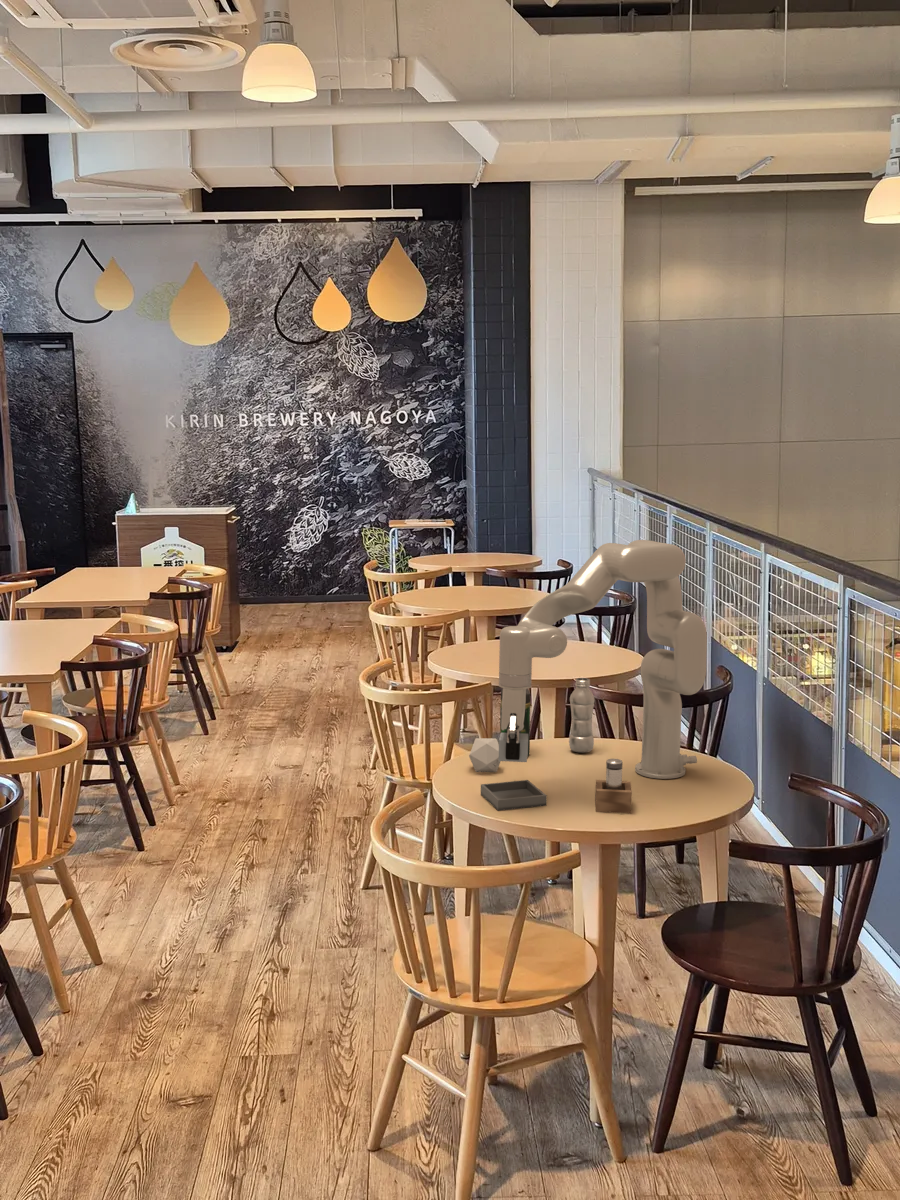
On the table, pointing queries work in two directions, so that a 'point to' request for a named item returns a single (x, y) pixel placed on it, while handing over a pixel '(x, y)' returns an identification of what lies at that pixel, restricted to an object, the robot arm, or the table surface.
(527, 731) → the coffee jar
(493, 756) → the die
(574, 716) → the plastic bottle
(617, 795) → the block
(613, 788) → the spice jar
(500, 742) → the small block
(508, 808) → the tray
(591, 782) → the table surface
